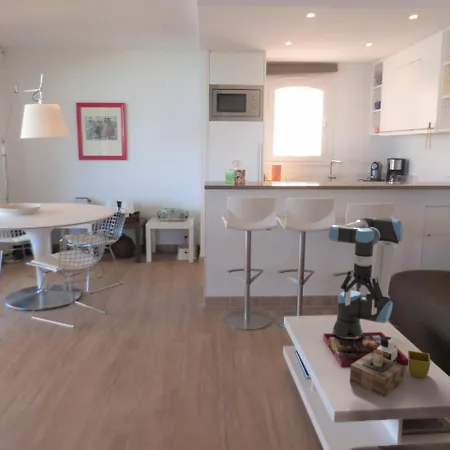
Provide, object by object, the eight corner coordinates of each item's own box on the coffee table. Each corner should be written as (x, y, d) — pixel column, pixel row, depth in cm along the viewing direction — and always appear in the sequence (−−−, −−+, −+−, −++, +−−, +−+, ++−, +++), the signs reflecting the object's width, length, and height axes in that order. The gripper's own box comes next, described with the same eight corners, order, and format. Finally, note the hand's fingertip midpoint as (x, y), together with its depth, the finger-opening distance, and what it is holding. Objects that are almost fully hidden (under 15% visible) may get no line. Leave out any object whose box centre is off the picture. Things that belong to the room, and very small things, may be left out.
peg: (375, 365, 198) (376, 348, 197) (384, 368, 195) (385, 351, 194) (370, 368, 196) (371, 351, 194) (379, 372, 193) (380, 354, 191)
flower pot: (406, 377, 200) (408, 359, 198) (406, 368, 208) (408, 350, 206) (428, 381, 197) (430, 362, 195) (427, 371, 205) (429, 353, 203)
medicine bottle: (375, 362, 213) (377, 338, 211) (382, 356, 219) (383, 333, 216) (390, 367, 209) (392, 343, 206) (396, 361, 214) (398, 338, 211)
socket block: (369, 368, 208) (370, 351, 206) (402, 382, 196) (404, 365, 195) (349, 381, 198) (350, 363, 196) (383, 397, 186) (385, 378, 184)
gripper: (334, 259, 206) (332, 303, 211) (384, 272, 187) (380, 320, 192) (344, 256, 210) (342, 299, 215) (394, 268, 192) (390, 315, 197)
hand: (360, 309), depth 204 cm, fingers open, 13 cm apart
